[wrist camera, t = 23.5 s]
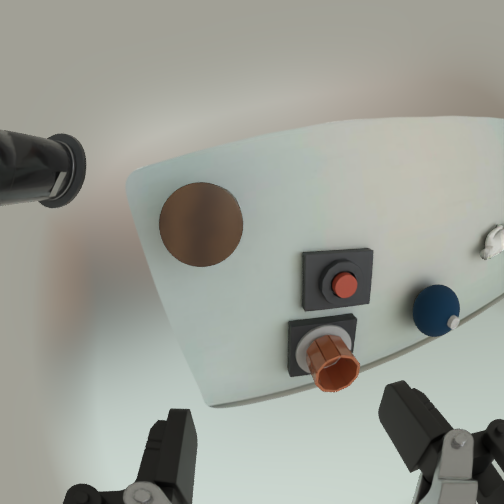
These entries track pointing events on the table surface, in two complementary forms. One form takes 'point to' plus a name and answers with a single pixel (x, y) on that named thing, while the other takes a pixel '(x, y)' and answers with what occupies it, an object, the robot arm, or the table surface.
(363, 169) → the table surface
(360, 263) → the red push button box
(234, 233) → the stand
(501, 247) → the figurine
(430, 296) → the christmas ornament
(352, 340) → the scale
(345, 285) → the button
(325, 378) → the orange wooden cup
